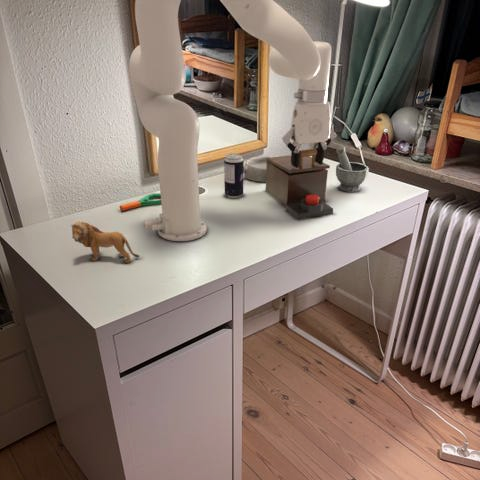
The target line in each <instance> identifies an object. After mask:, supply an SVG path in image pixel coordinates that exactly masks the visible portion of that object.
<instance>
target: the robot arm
mask: <svg viewBox="0 0 480 480" xmlns="http://www.w3.org/2000/svg"><path fill="white" fill-rule="evenodd" d="M219 1H220V2H221V4H222V5H223V6H224V7H225V8H226V10H227V11H228V13H230V15H231V16H232V18H233V19H234V20H235V21H236V22H237V24H238V25H239V26H240V28H241V29H242V30H243V31H245V32H246V33H248V34H249V35H250V36H252V37H254V38H256V39H258V40H260V41H262V42H264V43H265V44H267V45H269V46H271V47H272V48H271V50H270V52H269V54H268V64H269V67H270V69H271V70H272V72H273V73H275V74H277V75H278V76H282V77H285V78H289V79H295V80H298V89H297V92H294V94H293V98H294V99H297V101H295V104H294V106H293V107H294V108H293V111H292V117H291V123H290V129H289V130H288V131H287V132H286V133H285V134H284V135H283V136H282V138H281V140H282V142H283V143H284V144H285V146H286V147H287V148H288V149H289V151H290V152H291V154H290V155H291V164H292V166H294V167H296V168H298V167H299V159H300V153H298V152H299V150H301V147H302V145H307V144H308V145H309V144H317V147H316V149H317V155H315V162H316V163H318V164H320V165H322V164H323V163H324V159H325V151H326V150H327V148H328V146H329V145H330V144H331V143H332V140H334V138H335V136H337V134H336V132H335V131H334V129H332V128H331V119H332V118H331V116H332V115H331V104H330V103H331V102H330V101H328V93H329V91H328V90H329V81H330V71H331V62H332V61H331V60H332V49H333V48H332V45H331V43H329V42H326V41H314V40H313V39H312V37H311V35H309V33H308V31H307V30H306V29H305V28H304V26H303V25H301V23H300V22H298V20H297V19H295V18H294V17H293V16H292V15H291V14H290V13H288V12H287V11H286V10H285V9H284V8H283V7H282V6H281V5H279V4H278V3H277V2H276V1H274V0H219ZM181 2H182V0H135V3H134V16H135V25H136V31H137V36H138V43H139V44H138V45H137V46H136V47H135V48H134V49H133V50H132V52H131V55H130V57H129V62H128V63H129V65H128V70H129V77H130V82H131V86H132V92H133V96H134V99H135V104H136V108H137V112H138V116H139V119H140V121H141V122H140V123H141V125H142V126H143V128H144V129H145V130H146V131H147V132H148V133H149V134H151V135H153V136H154V137H156V138H157V139H158V149H157V171H158V172H157V173H158V182H159V192H160V194H161V198H160V200H161V204H160V205H161V213H159V217H156V218H155V219H147V220H144V222H143V223H144V228H145V229H151V230H152V231H157V233H158V235H159V236H160V237H161V238H163V239H165V240H166V241H167V240H168V241H173V242H189V241H194V240H197V239H200V238H201V237H203V236H205V235H206V233H207V228H208V227H207V224H206V223H205V222H204V221H202V220H201V207H200V206H201V205H200V186H199V185H200V184H199V165H198V150H199V148H198V147H199V140H200V130H201V129H200V128H201V127H200V121H199V117H198V115H197V113H196V111H195V110H194V109H193V108H192V107H191V106H190V105H189V104H187V103H186V102H184V101H182V100H179V99H177V98H175V96H174V95H176V94H179V92H181V91H182V89H183V88H184V87H185V84H186V79H187V71H186V65H185V57H184V52H183V47H182V39H181V34H180V26H179V9H180V6H181ZM291 140H292V142H291Z"/></svg>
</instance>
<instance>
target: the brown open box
mask: <svg viewBox="0 0 480 480" xmlns="http://www.w3.org/2000/svg"><path fill="white" fill-rule="evenodd" d="M328 172H329V171H328V169H321V170H313V171H306V172H298V173H291V174H290V173H288V172H286V171H285V170H283V169H281V168H279V167H277V166H276V165H274V164H272V163H270V162H268V161H267V166H266V182H265V193H268V194H269V195H270V196H271V197H273V198H274V199H275V200H276V201H278V202H279V203H280V204H282V205H283V206H284V207H286V208H287V205H291V204H298V203H300V201H301V200H302V199H304V198H306V196H308V195H317V196H319V199H321V200H323V201H324V202H326V192H327V184H328V183H327V182H328Z"/></svg>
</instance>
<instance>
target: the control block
mask: <svg viewBox="0 0 480 480" xmlns="http://www.w3.org/2000/svg"><path fill="white" fill-rule="evenodd" d="M286 212H287V213H289V214H290V215H291V216H293V217H294V218H295V219H296V220H298V221H300V220H304V219H311V218H317V217H323V216H329V215H333V214H334V207H332V206H330V205H329V204H327V203H326V201H323V200H321V199H319V204H316V205H310V204H306V198H304V199H302V200H301V201H300V203H298V204H291V205H287V207H286Z"/></svg>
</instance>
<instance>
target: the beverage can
mask: <svg viewBox="0 0 480 480" xmlns="http://www.w3.org/2000/svg"><path fill="white" fill-rule="evenodd" d="M223 165H224V166H223V172H224V175H223V177H224V181H223V182H224V194H225V196H227V198H230V199H238V198H241V196H243V194H244V175H245V173H244V166H245V164H244V158H243V155H242V154H241V153H236V152H235V153H227V154H225V158H224V159H223Z"/></svg>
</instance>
